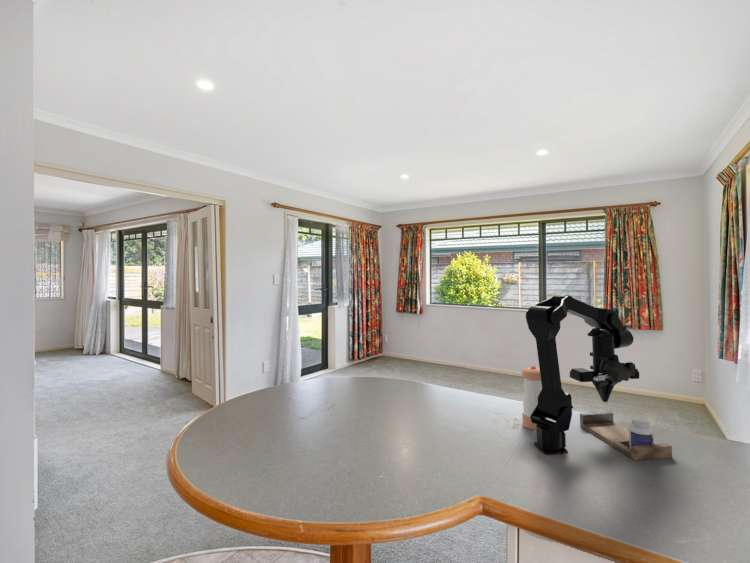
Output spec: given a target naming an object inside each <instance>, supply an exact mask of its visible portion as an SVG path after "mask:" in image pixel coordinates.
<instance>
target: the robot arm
mask: <svg viewBox="0 0 750 563" xmlns="http://www.w3.org/2000/svg"><path fill="white" fill-rule="evenodd" d="M568 314H571V315H574V316H576V317H578V318H581V319H583V321H584V323H585V324H586V325H589V327H592V329H591V330H590V331H588V333H587V336H588V337H591V339H592V344H591V345H592V346H591V347H592V351H590V352H589V356H591V357H592V364H591V365H590V367H589V368H590V370H589V369H586V368H583V367H578V368H577V367H576V368H571V369H570V370H569V378H571V379H573V380H574V381H578V382H579V383H592V384H593V385H594V387H595V389H596V391H597V394H598V395H599V397H600V399H601V401H602V402H603V403H608V401H609V399H610V396H611V394H612V391H613V390H614V387H615V385H617V384H619V383H622V381H624V382H627V381H629V380H637V379H638V380H639V379H640V372H639V369H638V368H637V367H636V364H635V363H634V362H632V361H629V362H627V361H626V362H620V360H619V355H618V354H615V349H621V348H622V349H623V348H626V347H627V348H628V347H630V346H631V345H632V344H633V343H634V336H633V334H632V332H631V331H630V330H629V329H627V325H624V324H623V323H622V321H621V318H620V317H619V315H618V314H617V312H616V310H614V309H611V308H602V307H595V306H593V305H591V304H588V303H586V302H585V301H581V300H579V299H576V298H575V297H573V296H571V295H569V294H554V295H552V296H551V297H549V298H547V299H546V300H545V299H544V300H542V301H541V302H538V303H536V304H534V305H532V306H530V307H529V308H528V310H527V311H525V319H526V324H527V328H528V330H529V332H530V333H531V334H532V336H533V337H534V339H535V342H536V343H535V344H536V352H537V357H538V358H537V359H538V366H539V367H538V368H539V369H540V375H541V383H542V390H541V392H540V393H539V395H538V404H537V406H536V408H535V409H534V411H533V413H532V414H531V416H530V418H531V422H532V423H534V424H537V425H536V429H535V430H536V442H533V445H534V446H535V447H536V448H538V450H540V451H541V452H542V453H543V454H544V455H555V454H567V453H569V450H568V449H567V448H566V445H567V444H566V442H567V440H566V437H567V436H566V432H567V431H569V430H570V425H571V422H572V421H571V420H572V417H573V409H574V406H573V403H572V402H573V401H572V395H571V393H569V392H565V391H564V390H563V387H562V380H561V373H560V364H559V358H558V357H559V356H558V355H559V354H558V349H557V348H558V347H557V340H556V337H557V335H558V334H559V332H560V330H561V321H563V320H564V319H565V318H567V316H568ZM545 417H546V418H547V419H545Z"/></svg>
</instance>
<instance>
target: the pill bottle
mask: <svg viewBox="0 0 750 563" xmlns="http://www.w3.org/2000/svg"><path fill="white" fill-rule="evenodd" d="M631 424H632V425H630V426H629V428H628V430H629V439H630V445H629V448H630V449H631V446H640V445H653V443H654V431H653V429H652V428H651V421H650V420H649V418H646V417H642V416H633V417H631Z"/></svg>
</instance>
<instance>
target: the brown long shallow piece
mask: <svg viewBox="0 0 750 563" xmlns="http://www.w3.org/2000/svg"><path fill="white" fill-rule="evenodd" d="M579 427H580V428H583V430H586V431H587V432H589V433H590V434H592V435H594V436H595V437H597V438H598V439H600V440H602V441H603V442H605V443H606V444H608V445H610V446H612V447H613V448H615V449H616V450H618V451H620V452H621V453H623V454H624V455H626V456H628V457H629V458H631V459H632V460H634V461H646V460H647V461H648V460H657V459H658V460H659V459H672V458H673V445H672V444H669V443H667V442H666V443H654V442H653V445H640V446H631V449H630V447H628V446H630V439H629V428H628V429H627V428H625V427H624V426H622V425H620V424H618V423H616V422H615V421H614V413H613V412H612V411H598V412H597V411H596V412H585V413H579Z"/></svg>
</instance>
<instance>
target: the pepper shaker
mask: <svg viewBox="0 0 750 563" xmlns="http://www.w3.org/2000/svg"><path fill="white" fill-rule="evenodd" d="M521 376H522V378H523V379H524V380H523V381H524V384H523V385H524V393H523V400H522V401H523V402H522V407H523V408H522V409H523V412H522V413H521V414H522V417H521V419H522V420H521V421H522V426H523V427H525V428H526V429H530V430H536V425H537V424H534V423H532V422H531V418H530V416H531V414H532V413H533V411H534V409H535V408H536V406H537V404H538V395H539V393H540V392H541V390H542V383H541V375H540V368H539V367H537V366H536V365H533V364H532V365H531V366H529V367H525V368H523V370H521ZM545 419H548V418H546V417H545Z"/></svg>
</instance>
